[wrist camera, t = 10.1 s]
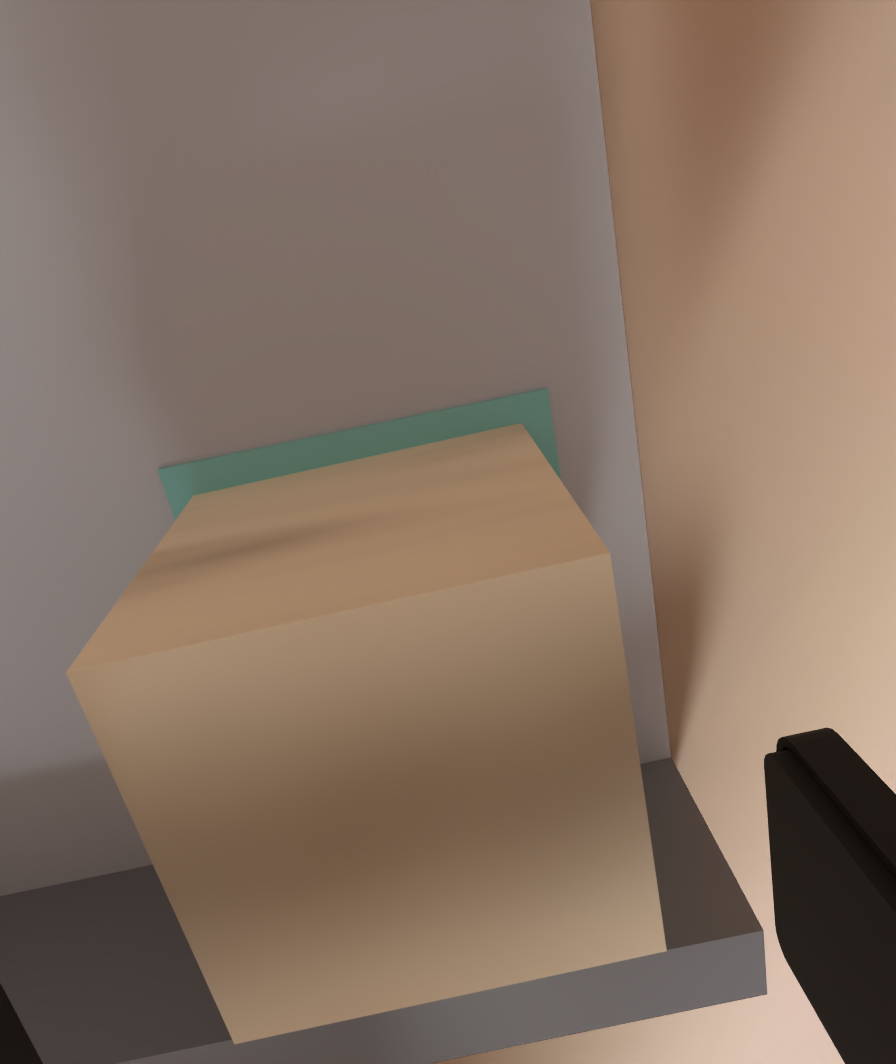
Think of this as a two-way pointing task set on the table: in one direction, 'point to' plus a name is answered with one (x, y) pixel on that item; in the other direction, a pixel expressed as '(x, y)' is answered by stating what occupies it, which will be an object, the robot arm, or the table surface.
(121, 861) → the arena
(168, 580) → the birch block
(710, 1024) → the table surface
